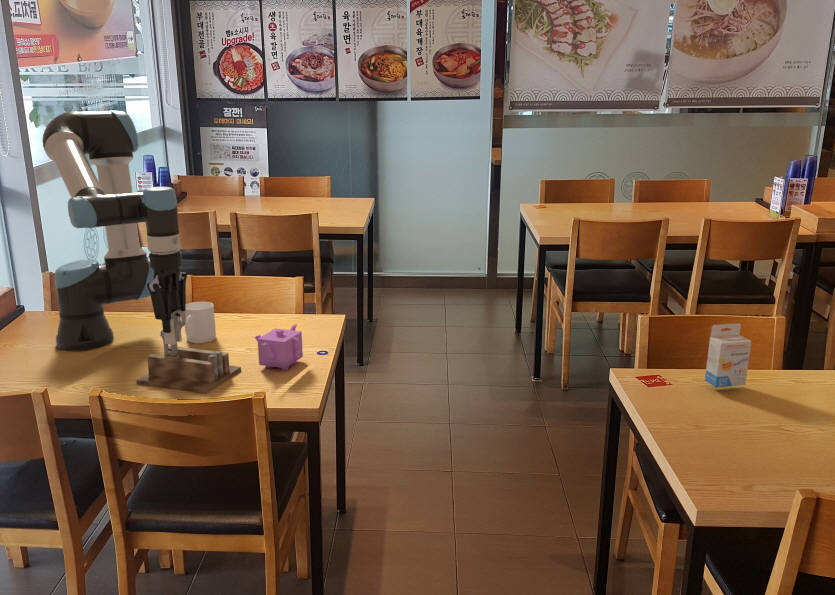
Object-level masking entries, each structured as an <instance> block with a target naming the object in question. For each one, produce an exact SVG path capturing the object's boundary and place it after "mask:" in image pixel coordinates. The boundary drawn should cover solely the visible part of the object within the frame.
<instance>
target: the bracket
mask: <svg viewBox="0 0 835 595" xmlns="http://www.w3.org/2000/svg"><path fill="white" fill-rule="evenodd" d="M176 313H178V314H179V315H180V318H181V322H179V321H177V319H176V317H175V314H176ZM171 319H174V324H175V326H176V328H175V339H176V344H175V345H170V346H171V349H172V351H169V350H168V345H169V344H165V339H164V332H163V329H161V331H160V332H159V333H160V334H159V336H160V337H161V339H162V340H163V341H162V342H163V352H164V353H163V356H168V355H171V356H175V355H177V354H178V353H177V350H178V348H177V347H178V342H177V339H178V335H179V333H180V331H181V332H182V329H183V327H185V323H186V322H185V321H186V317H185V314H184V311H181V310H177V311H174V312H173V313H172V315H171ZM175 357H178V358H179V355H177V356H175Z"/></svg>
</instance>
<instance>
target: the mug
mask: <svg viewBox="0 0 835 595" xmlns="http://www.w3.org/2000/svg"><path fill="white" fill-rule="evenodd" d="M214 308H215V306H214V303H212V302H209V301H195V302H189V303H186V310H185V311H183V312H184V314H185V317H186V321H185V322H186V323H185V326H184V332H185V336H186V337H185V338H186V340H187V341H188V343H191V344H195V345H196V344H197V345H198V344H199V345H200V344H207V343H211V342H213V341H214V340H215V339H216V338H217V336H216V335H217V333H216V332H217V330H216V320H215V309H214Z"/></svg>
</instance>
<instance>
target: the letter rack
mask: <svg viewBox="0 0 835 595" xmlns="http://www.w3.org/2000/svg"><path fill="white" fill-rule="evenodd" d="M177 348H178V350H177V353H178V354H177V355H179V358H178V357H175V356H177V355H175V356H171V355H168V356H164V354H163V355H161V354H154V353H151V354H149V355H147V356H146V358H147V359H146V360H147V369H148V372H147V373H146V374H144V375H142V376H140V377H138V378H137V379H136V380H135V381H136V382H135V384H138V385H143V386H144V385H145V386H152V387H156V388H157V387H158V388H165V389H171V390H178V391H185V392H193V393H197V394H198V393H199V394H207V393H209V392H211V391H212V390H214V389H215V388H217V387H218V386H220V385H221V384H223V383H224V382H226V381H227V380H229V379H230V378H232V377H233V376H235V375H237V374H238V373H239V372H241V371H242V368H241V366H238V365H237V366H236V365H230V358H229V352H224V351H223V352H222V351H215V350H208V349H207V350H206V349H202V348H201V349H199V348H191V347H182V346H177ZM168 350H169V351H172V349H171V345H170V344H168Z"/></svg>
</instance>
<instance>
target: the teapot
mask: <svg viewBox="0 0 835 595" xmlns="http://www.w3.org/2000/svg"><path fill="white" fill-rule="evenodd" d="M297 327H298V324H296V323H295V324H293V325H292V326H291V327H290V329H284V328H274V329H272V330H270V331H269V332H266V333H265V334H264V335H260V334H259V335H255V336H254V338H255V340H256V341H257V349H258V350H257V352H258V354H257V355H258V364H259V366H265V368H266V369H272V368H279V369H281V371H284V372H285V371H289V370H290V368H289V367H290V366H291V365H297V364H298V361H299V360H300V359H302V358H304V357H303V356H304V354H303V335H302V334H303V333H302V332H303V331H300V330H296V328H297Z"/></svg>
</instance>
